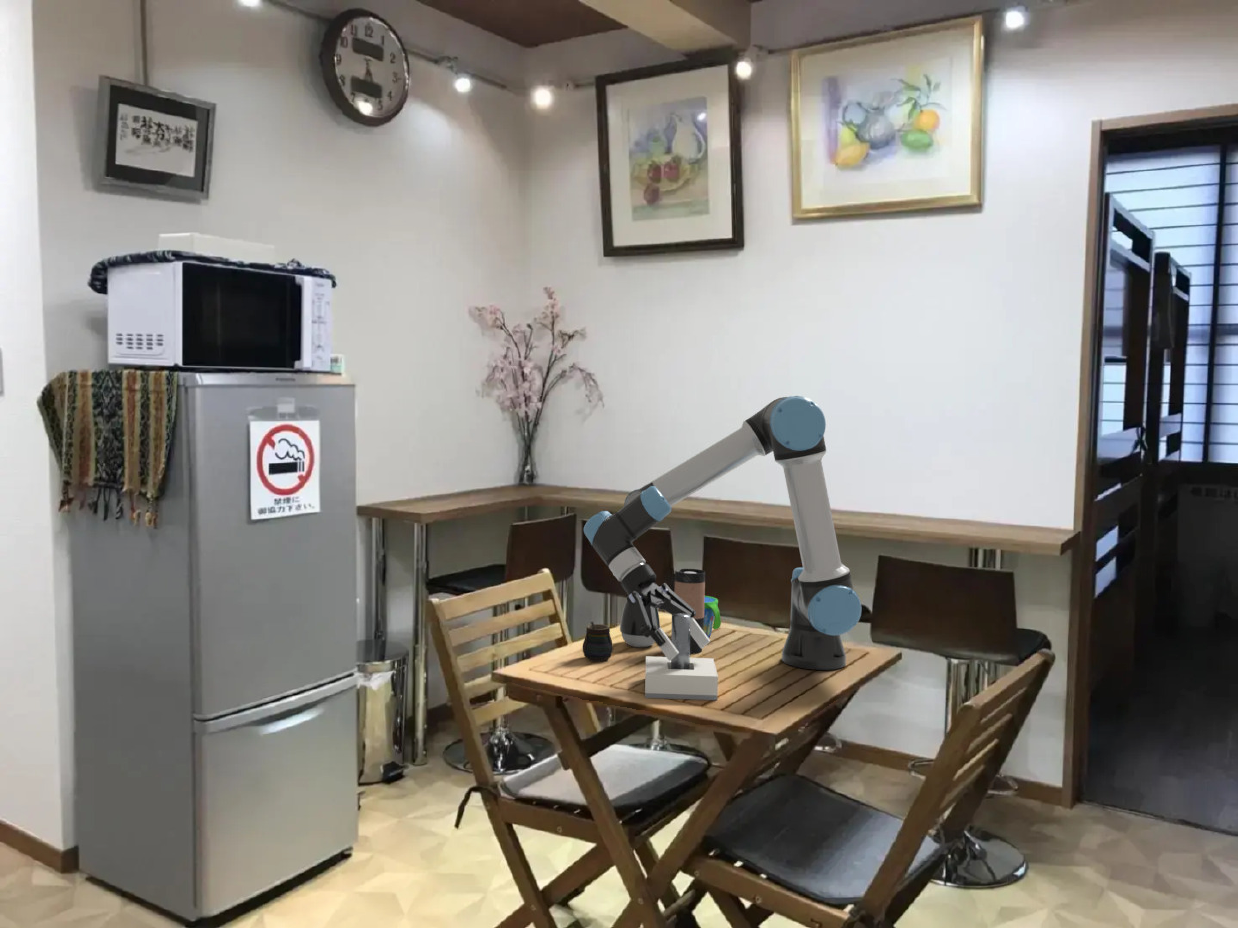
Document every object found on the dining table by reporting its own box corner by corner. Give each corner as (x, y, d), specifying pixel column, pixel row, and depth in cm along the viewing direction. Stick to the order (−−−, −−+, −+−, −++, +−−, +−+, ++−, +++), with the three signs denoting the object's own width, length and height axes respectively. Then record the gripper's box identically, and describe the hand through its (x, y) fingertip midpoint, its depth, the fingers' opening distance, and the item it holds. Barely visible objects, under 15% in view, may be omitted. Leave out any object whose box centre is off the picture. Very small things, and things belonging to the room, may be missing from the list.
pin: (688, 681, 217) (690, 613, 217) (689, 687, 213) (690, 617, 213) (670, 681, 218) (671, 613, 217) (670, 686, 214) (672, 616, 213)
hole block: (712, 680, 223) (713, 658, 222) (717, 700, 208) (717, 676, 208) (645, 678, 223) (645, 656, 223) (644, 697, 208) (645, 674, 208)
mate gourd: (615, 656, 242) (616, 616, 241) (608, 664, 235) (610, 622, 234) (586, 654, 244) (587, 613, 243) (579, 662, 236) (580, 620, 235)
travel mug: (706, 653, 247) (708, 573, 246) (676, 654, 246) (678, 573, 245) (698, 646, 255) (701, 568, 254) (669, 646, 253) (671, 568, 252)
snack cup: (730, 640, 262) (732, 602, 262) (698, 644, 257) (699, 605, 256) (695, 628, 276) (696, 592, 275) (663, 632, 270) (664, 594, 269)
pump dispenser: (654, 651, 248) (656, 590, 248) (614, 647, 251) (616, 587, 250) (664, 642, 258) (666, 584, 257) (625, 638, 261) (627, 581, 260)
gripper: (652, 576, 233) (707, 650, 226) (590, 591, 212) (648, 672, 205) (672, 556, 230) (729, 630, 223) (611, 569, 209) (671, 651, 202)
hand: (690, 650), depth 214 cm, fingers open, 13 cm apart
